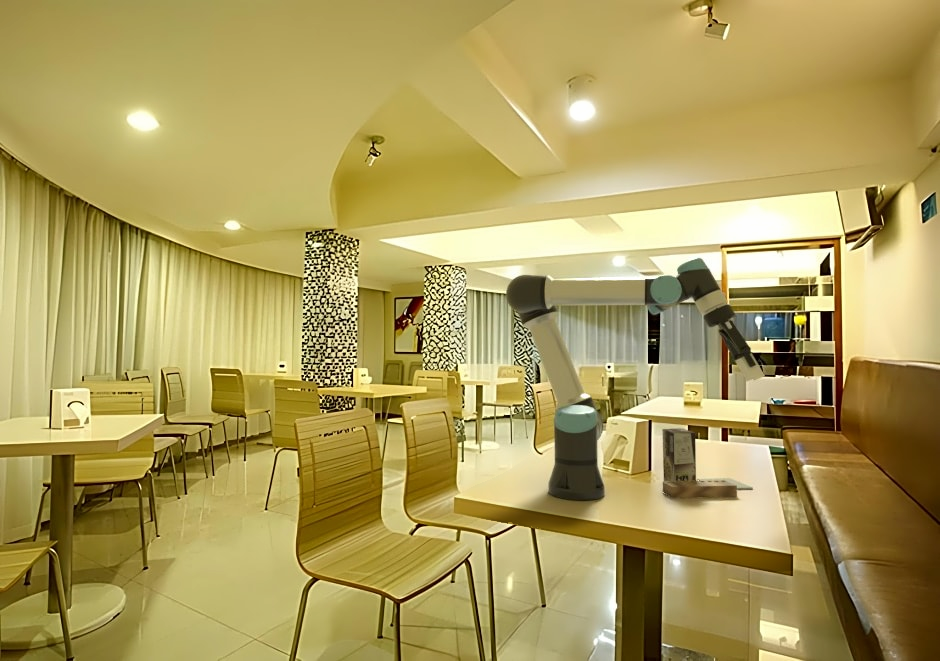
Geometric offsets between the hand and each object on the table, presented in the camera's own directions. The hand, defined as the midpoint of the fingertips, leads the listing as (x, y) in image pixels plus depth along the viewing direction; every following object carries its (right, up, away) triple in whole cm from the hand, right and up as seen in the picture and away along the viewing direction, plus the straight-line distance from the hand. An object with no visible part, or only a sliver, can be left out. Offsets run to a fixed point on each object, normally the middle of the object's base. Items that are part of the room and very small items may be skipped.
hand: (755, 379), depth 139 cm
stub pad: (-2, -32, +13) cm, 35 cm away
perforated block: (-14, -32, +2) cm, 35 cm away
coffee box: (-16, -32, +11) cm, 38 cm away
